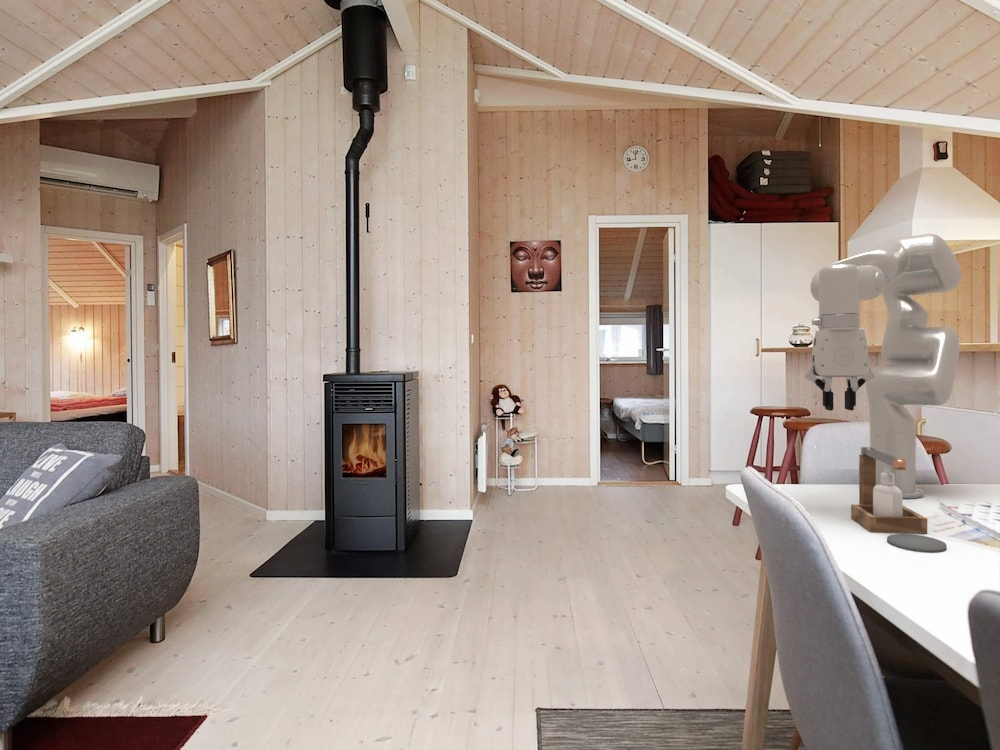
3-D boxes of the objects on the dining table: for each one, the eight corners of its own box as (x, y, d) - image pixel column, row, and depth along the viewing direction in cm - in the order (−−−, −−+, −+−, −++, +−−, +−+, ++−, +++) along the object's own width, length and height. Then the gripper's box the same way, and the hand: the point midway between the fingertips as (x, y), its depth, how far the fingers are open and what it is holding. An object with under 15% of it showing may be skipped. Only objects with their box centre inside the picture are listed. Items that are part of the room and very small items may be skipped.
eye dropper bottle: (878, 529, 121) (879, 469, 121) (871, 521, 126) (871, 464, 126) (904, 530, 120) (904, 470, 119) (895, 522, 125) (895, 465, 125)
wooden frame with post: (840, 510, 135) (840, 454, 135) (890, 512, 133) (890, 454, 133) (870, 532, 119) (870, 468, 119) (927, 534, 117) (927, 469, 117)
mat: (878, 536, 117) (878, 533, 117) (931, 537, 115) (931, 534, 115) (900, 551, 108) (900, 548, 108) (957, 553, 106) (957, 550, 106)
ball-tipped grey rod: (859, 454, 134) (859, 446, 134) (871, 454, 133) (871, 446, 133) (895, 469, 116) (895, 460, 116) (909, 469, 116) (909, 460, 116)
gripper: (802, 324, 127) (802, 411, 127) (889, 321, 124) (889, 411, 124) (792, 325, 134) (792, 408, 135) (874, 323, 131) (874, 408, 132)
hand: (839, 409), depth 129 cm, fingers open, 3 cm apart
